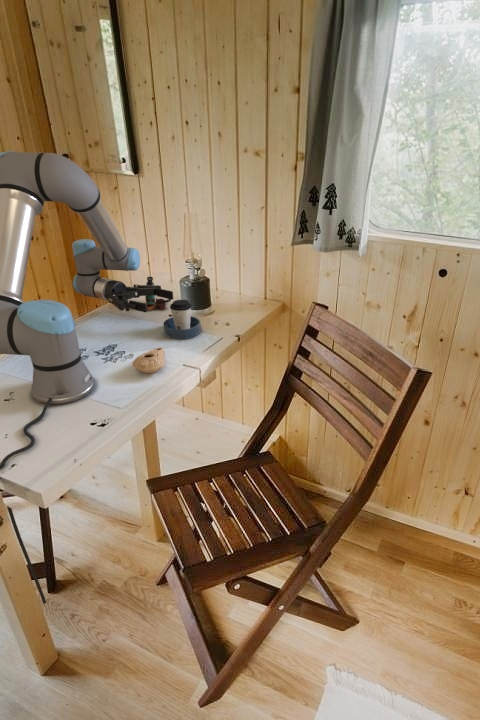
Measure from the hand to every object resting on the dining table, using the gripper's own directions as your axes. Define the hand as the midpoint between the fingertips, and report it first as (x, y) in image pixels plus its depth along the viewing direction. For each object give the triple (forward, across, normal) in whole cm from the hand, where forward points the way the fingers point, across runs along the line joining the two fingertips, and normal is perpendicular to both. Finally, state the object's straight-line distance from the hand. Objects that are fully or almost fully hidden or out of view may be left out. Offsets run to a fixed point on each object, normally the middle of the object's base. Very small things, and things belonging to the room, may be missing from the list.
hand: (159, 301), depth 155 cm
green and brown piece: (-14, -14, -9) cm, 22 cm away
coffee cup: (+8, 0, -9) cm, 12 cm away
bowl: (+8, 0, -9) cm, 12 cm away
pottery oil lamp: (+17, +24, -9) cm, 31 cm away
